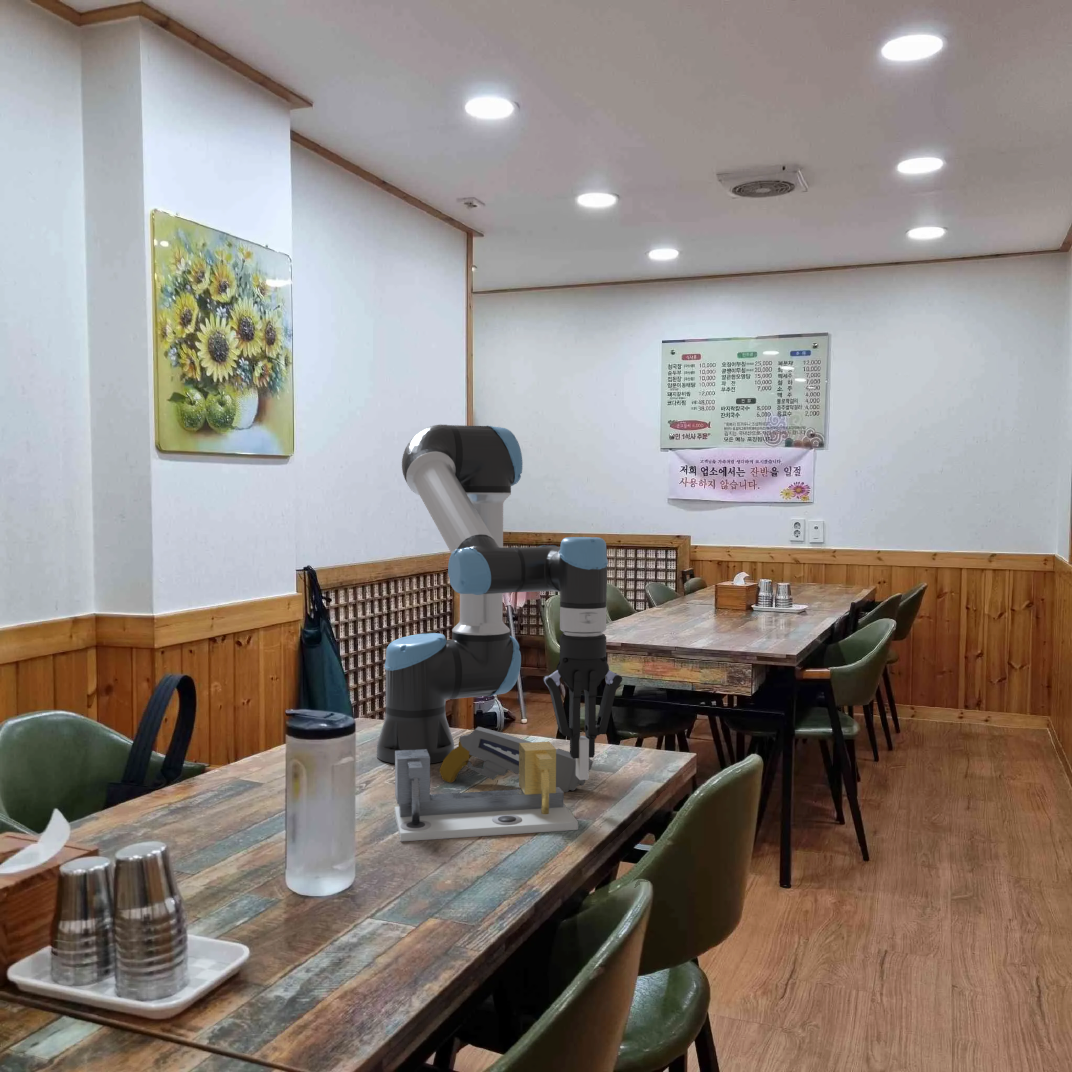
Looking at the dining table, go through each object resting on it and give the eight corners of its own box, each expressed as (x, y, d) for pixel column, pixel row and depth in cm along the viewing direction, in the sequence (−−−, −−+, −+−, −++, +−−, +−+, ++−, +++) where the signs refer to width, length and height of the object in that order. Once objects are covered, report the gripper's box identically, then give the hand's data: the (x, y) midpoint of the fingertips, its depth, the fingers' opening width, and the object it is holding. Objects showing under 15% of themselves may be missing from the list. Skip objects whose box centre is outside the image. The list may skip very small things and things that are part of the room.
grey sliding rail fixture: (395, 809, 160) (395, 750, 159) (557, 799, 165) (558, 743, 165) (399, 828, 151) (399, 766, 150) (571, 817, 156) (571, 757, 156)
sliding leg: (518, 797, 164) (519, 743, 163) (548, 796, 165) (549, 741, 164) (530, 815, 155) (530, 757, 154) (561, 813, 156) (562, 755, 155)
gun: (559, 841, 174) (592, 764, 172) (433, 778, 179) (464, 702, 177) (563, 835, 177) (595, 759, 175) (439, 773, 182) (469, 699, 180)
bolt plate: (394, 813, 161) (394, 805, 161) (558, 804, 167) (558, 795, 167) (400, 841, 148) (400, 832, 148) (577, 829, 154) (578, 820, 154)
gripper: (548, 637, 157) (547, 786, 158) (628, 635, 160) (627, 781, 161) (538, 630, 164) (538, 773, 165) (615, 628, 167) (614, 769, 168)
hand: (582, 777), depth 163 cm, fingers closed
